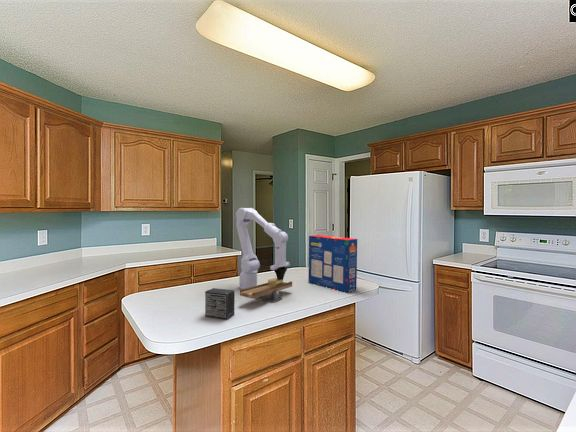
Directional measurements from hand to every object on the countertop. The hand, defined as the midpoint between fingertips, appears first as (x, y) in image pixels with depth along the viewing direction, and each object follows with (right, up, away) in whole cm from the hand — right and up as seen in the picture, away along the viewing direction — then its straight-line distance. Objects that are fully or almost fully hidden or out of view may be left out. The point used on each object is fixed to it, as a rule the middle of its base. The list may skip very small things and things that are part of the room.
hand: (280, 281), depth 155 cm
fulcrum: (-6, -6, -8) cm, 12 cm away
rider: (-2, -1, -4) cm, 4 cm away
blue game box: (+29, -6, +15) cm, 33 cm away
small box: (-24, -7, -31) cm, 40 cm away
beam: (-6, -2, -8) cm, 11 cm away
